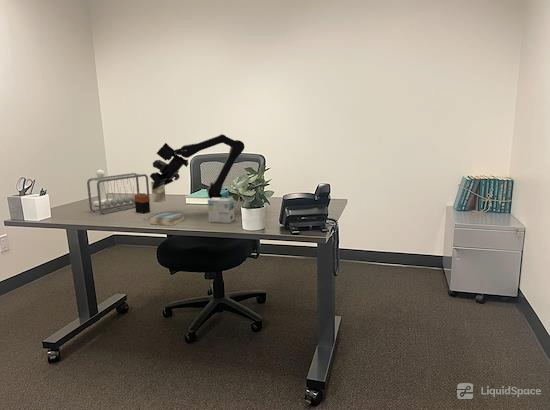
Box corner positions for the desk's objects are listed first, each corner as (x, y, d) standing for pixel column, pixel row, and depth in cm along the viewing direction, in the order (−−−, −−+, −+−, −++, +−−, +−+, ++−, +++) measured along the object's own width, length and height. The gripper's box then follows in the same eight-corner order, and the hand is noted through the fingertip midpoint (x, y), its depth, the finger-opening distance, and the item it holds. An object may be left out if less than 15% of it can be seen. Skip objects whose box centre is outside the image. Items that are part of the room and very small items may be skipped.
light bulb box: (234, 219, 194) (234, 197, 192) (230, 223, 187) (229, 200, 185) (213, 218, 196) (212, 196, 194) (208, 222, 190) (207, 199, 188)
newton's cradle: (139, 203, 237) (136, 172, 234) (150, 205, 231) (148, 173, 227) (89, 212, 214) (86, 178, 210) (100, 215, 208) (97, 180, 204)
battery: (143, 213, 209) (142, 194, 207) (135, 212, 213) (133, 193, 211) (150, 212, 213) (149, 193, 211) (142, 210, 217) (140, 192, 214)
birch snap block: (165, 200, 207) (164, 180, 205) (160, 202, 202) (159, 182, 200) (157, 200, 208) (156, 180, 206) (152, 201, 204) (151, 182, 202)
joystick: (110, 202, 240) (106, 168, 236) (117, 203, 236) (114, 169, 232) (92, 205, 231) (88, 170, 227) (99, 207, 227) (96, 171, 223)
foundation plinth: (183, 220, 195) (183, 213, 194) (171, 225, 184) (171, 218, 184) (163, 218, 198) (163, 212, 197) (150, 224, 187) (149, 217, 187)
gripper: (172, 153, 208) (155, 174, 213) (151, 156, 191) (133, 179, 196) (187, 168, 207) (169, 189, 213) (168, 173, 190) (149, 195, 195)
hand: (155, 188), depth 204 cm, fingers closed on birch snap block, 5 cm apart
